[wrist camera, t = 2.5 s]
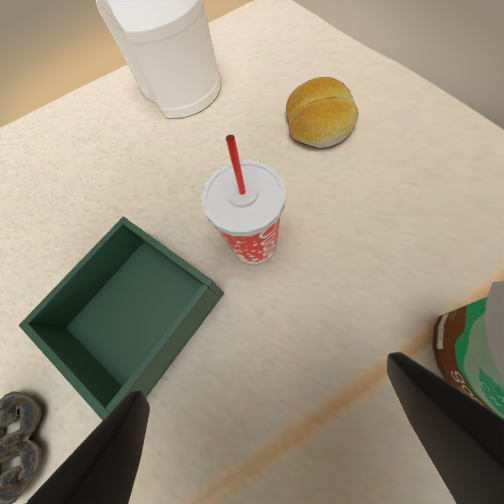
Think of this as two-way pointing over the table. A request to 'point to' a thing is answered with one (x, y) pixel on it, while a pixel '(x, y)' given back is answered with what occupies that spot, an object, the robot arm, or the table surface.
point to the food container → (474, 349)
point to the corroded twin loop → (18, 444)
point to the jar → (166, 51)
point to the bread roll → (321, 112)
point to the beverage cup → (245, 205)
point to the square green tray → (121, 316)
